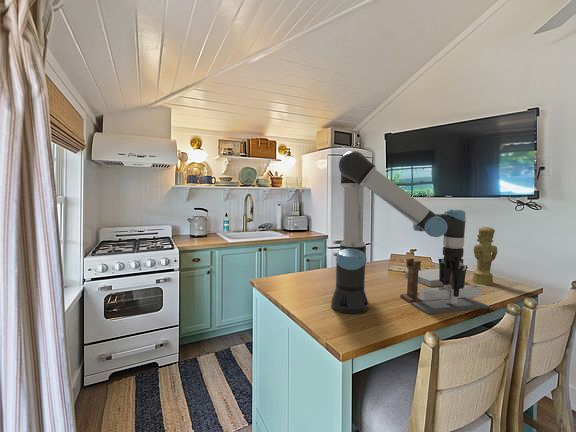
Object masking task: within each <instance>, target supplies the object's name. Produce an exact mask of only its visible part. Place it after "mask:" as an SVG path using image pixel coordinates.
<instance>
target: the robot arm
mask: <svg viewBox="0 0 576 432" xmlns="http://www.w3.org/2000/svg"><path fill="white" fill-rule="evenodd" d="M338 170H339V173H340V185H341V186H342V187H343V240H342V241H341V242H340V244H339V250H338V252H337V253H336V257H335V263H336V267H335V268H336V270H335V289H334V292H333V294H332V297H331V301H330V304H331V305H330V306H331V307H332V308H333V309H334V310H335V311H337V312H339V313H343V314H350V315H352V314H353V315H356V314H357V315H359V314H364V313H366V312H367V311H368V310H369V301H368V296H367V294H366V291H365V283H366V282H365V280H366V266H367V265H366V264H367V261H368V260H367V259H368V258H367V244H366V243H365V242H364V239H363V238H364V199H365V198H364V193H365V192H364V189H365V187H366V188H367V189H368V190H370V191H371V192H372V193H374V194H375V195H376V196H377V197H379V198H380V199H382V201H385V202H386V203H387V204H388V205H390V207H392V208H393V209H395V210H396V211H397V212H399V213H400V214H401V215H403V216H404V217H405V218H406V219H408V221H411V222H412V229H413V230H414V231H415V232H425V233H426V234H427V235H428V236H429V237H433V238H441V237H442V236H443V238H442V239H443V240H442V245H443V247H442V256H443V258H438V265H439V267H438V269H439V281H440V282H442V284H443V285H442V287H451V285H449V284H451V283H449V281H450V277H451V272H452V281H453V287H451V301H450V303H451V304H457V300H458V296H459V289H463V288H464V286H465V281H466V274H467V270H468V265H465V264H464V263H463V264H462V260H461V259H463V258H464V253H465V252H464V251H465V250H464V246H465V233H466V232H465V231H466V222H467V220H466V219H467V218H466V211H465V210H463V209H454V208H453V209H450V208H449V209H445V210H444V212H443V213H435V212H434V211H432V210H431V209H429V207H427V206H425V205H424V204H423V203H421V202H420V201H419V200H417V199H416V198H414V197H413V196H412V195H411V194H410V193H408V192H406V191H405V190H404V189H403V188H401V187H400V186H398V185H397V184H396V183H394V182H393V181H392V180H390V179H389V178H388V177H386V176H385V175H383V174H382V173H381V172H380V171H379V170H377V166H376V165H375V164H373V163H372V162H371V161H370V160H369V159H368V158H367V157H365V155H364V154H363V153H362V152H360V151H357V150H351V151H346V153H344V154H343V155H342V156H341V157H340V159H339V161H338ZM442 278H443V279H442ZM456 285H457V286H456ZM443 300H450V299H443Z"/></svg>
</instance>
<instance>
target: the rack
mask: <svg viewBox="0 0 576 432" xmlns="http://www.w3.org/2000/svg"><path fill="white" fill-rule="evenodd" d="M461 260H462V264H463V265H464V258H461ZM405 266H406V268H407V272H408V278H407V288H406V290H407V291H406V293H400V296H399V297H400V298H401V299H402V300H404V301H405V302H407V303H408V304H411V303H413V302H425V301H423V300H421V299H419V291H418V290H419V289H418V288H419V286H418V285H419V282H418V271H421V267H422V262H421V261H420V260H415V258H406V265H405ZM449 283H451V284H448V285H451V287H452V286H453V281H452V272H451V277H450V281H449ZM456 286H457V285H456ZM465 298H467V297H465ZM458 299H460V298H458ZM441 300H443V299H441ZM429 301H436V300H429Z"/></svg>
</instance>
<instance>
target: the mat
mask: <svg viewBox="0 0 576 432" xmlns="http://www.w3.org/2000/svg"><path fill="white" fill-rule="evenodd" d="M450 301H451V299H450V300H436V301H425V302H413V303H410V305H411V306H413V307H415V308H416V309H418V310H419V311H422V312H423V313H425V314H426V315H431V314H442V313H451V312H463V311H473V310H483V309H490V308H491V307H490V305H487V304H486V303H483V302H481V301H479V300H476V299H475V298H473V297H466V298H460V299H458V300H457V304H451V303H450Z"/></svg>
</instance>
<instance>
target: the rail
mask: <svg viewBox="0 0 576 432" xmlns="http://www.w3.org/2000/svg"><path fill="white" fill-rule="evenodd" d="M452 287H453V286H452ZM482 287H483V286H480V285H477V284H469V285H468V284H467V285H466V284H465V285H464V288H463V289H459V296H458V298H465V297H466V298H476V297H482ZM418 290H419V291H418V293H419V299H421V300H423V301H429V300H441V299H451V287H443V286H440V287H439V286H438V287H428V288H419V289H418Z"/></svg>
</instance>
